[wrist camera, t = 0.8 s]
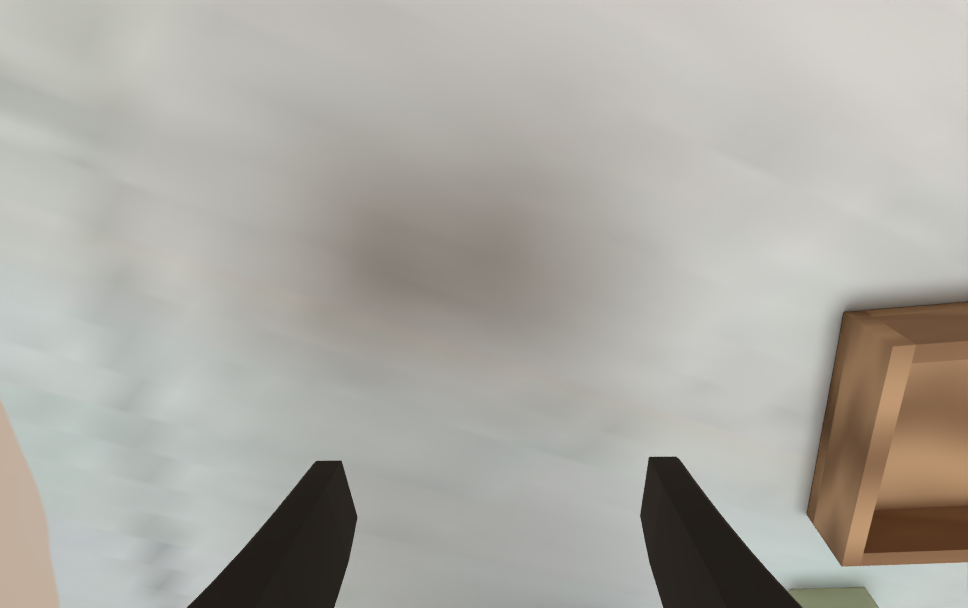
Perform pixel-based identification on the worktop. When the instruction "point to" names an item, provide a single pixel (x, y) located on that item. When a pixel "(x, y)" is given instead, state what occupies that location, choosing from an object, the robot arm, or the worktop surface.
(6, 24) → the worktop surface
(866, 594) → the sage block
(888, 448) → the walnut tray
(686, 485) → the robot arm
